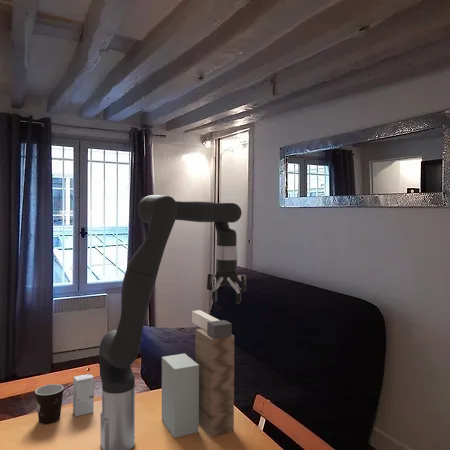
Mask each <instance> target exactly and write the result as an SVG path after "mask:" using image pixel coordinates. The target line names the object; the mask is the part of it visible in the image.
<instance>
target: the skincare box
mask: <svg viewBox="0 0 450 450" xmlns="http://www.w3.org/2000/svg"><path fill="white" fill-rule="evenodd" d="M72 384H73V385H72V386H73V391H72V394H73V395H72V401H73V402H72V412H73V414H74V416H75V417H78V416H85V415H88V414H92V413H93V412H94V406H95V405H94V400H95V399H94V397H95V396H94V394H95V377H94V376H93V375H92V374H91V373H88V374H80V375H75V376H73V383H72Z"/></svg>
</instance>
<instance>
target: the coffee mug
mask: <svg viewBox="0 0 450 450" xmlns="http://www.w3.org/2000/svg"><path fill="white" fill-rule="evenodd" d="M34 392H35V393H34V394H35V400H36V409H37V417H38V423H39V424H41V425H52V424H54V423H57V422H59V421H60V419H61V411H62V404H63V397H64V385H62V384H58V383H54V384H53V383H50V384H45V385H42V386H39V387H37V388H36V389H35V391H34Z"/></svg>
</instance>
